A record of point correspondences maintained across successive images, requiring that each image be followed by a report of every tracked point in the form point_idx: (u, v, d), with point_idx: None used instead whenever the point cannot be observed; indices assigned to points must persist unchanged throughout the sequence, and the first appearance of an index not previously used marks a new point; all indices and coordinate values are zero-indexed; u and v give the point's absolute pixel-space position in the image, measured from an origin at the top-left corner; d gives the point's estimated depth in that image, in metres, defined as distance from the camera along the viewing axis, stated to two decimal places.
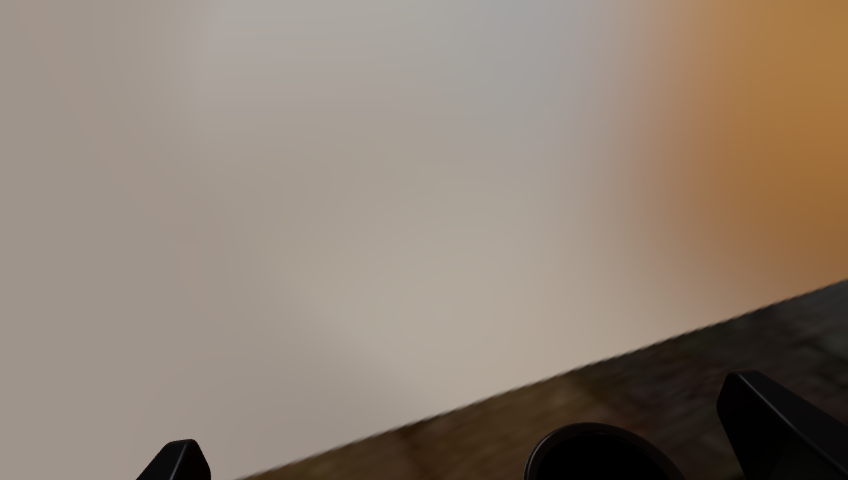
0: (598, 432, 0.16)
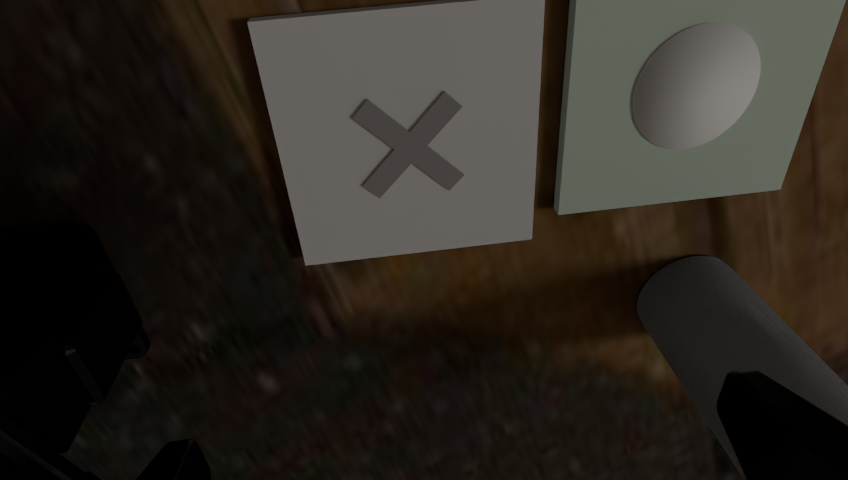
0: None
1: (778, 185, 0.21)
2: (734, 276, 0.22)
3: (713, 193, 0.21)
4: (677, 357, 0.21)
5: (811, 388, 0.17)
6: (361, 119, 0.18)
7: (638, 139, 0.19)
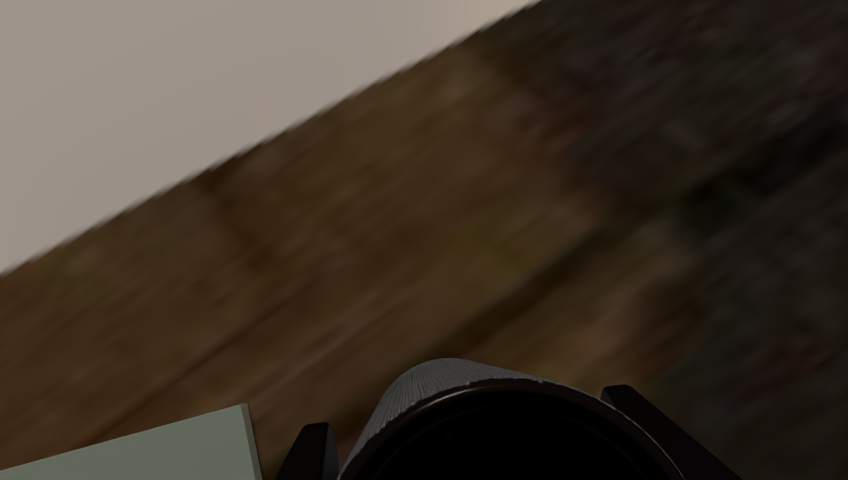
0: (502, 406, 0.06)
1: (234, 411, 0.15)
2: None
3: None
4: None
5: None
6: None
7: None
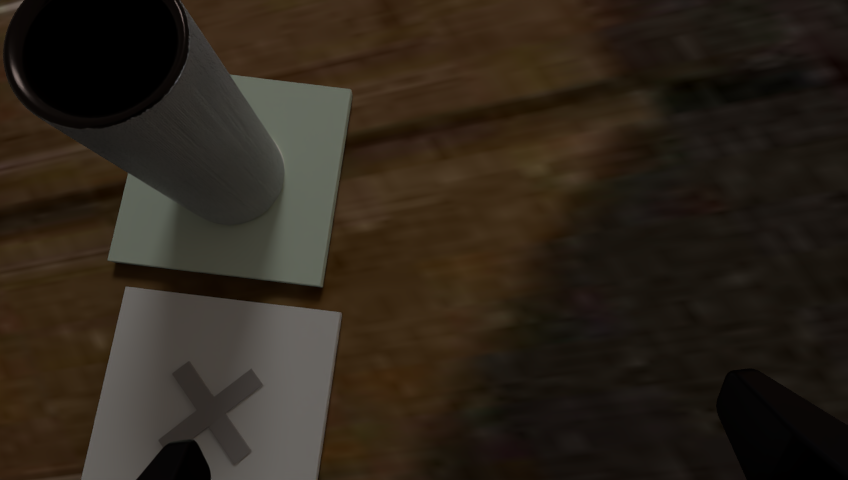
0: None
1: (346, 91, 0.24)
2: None
3: (338, 146, 0.24)
4: (206, 201, 0.19)
5: None
6: None
7: (264, 214, 0.23)
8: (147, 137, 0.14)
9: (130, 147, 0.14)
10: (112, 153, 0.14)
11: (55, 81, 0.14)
